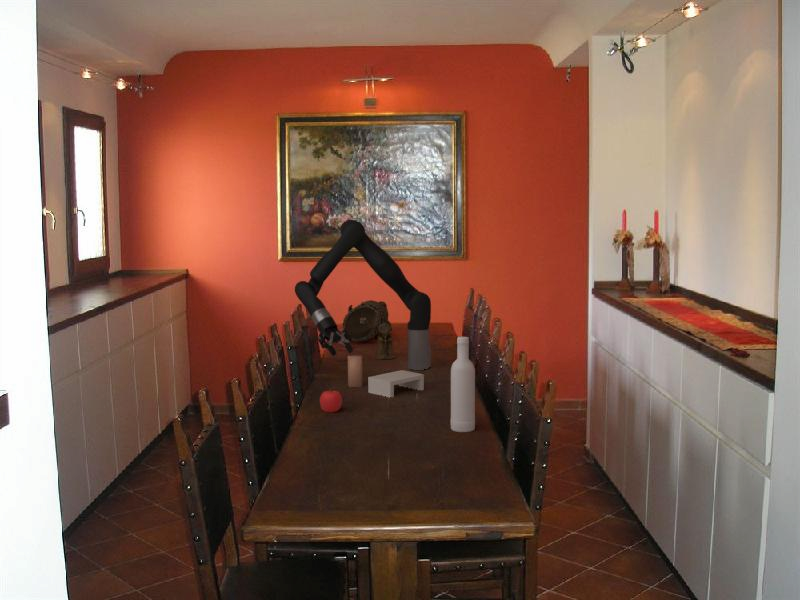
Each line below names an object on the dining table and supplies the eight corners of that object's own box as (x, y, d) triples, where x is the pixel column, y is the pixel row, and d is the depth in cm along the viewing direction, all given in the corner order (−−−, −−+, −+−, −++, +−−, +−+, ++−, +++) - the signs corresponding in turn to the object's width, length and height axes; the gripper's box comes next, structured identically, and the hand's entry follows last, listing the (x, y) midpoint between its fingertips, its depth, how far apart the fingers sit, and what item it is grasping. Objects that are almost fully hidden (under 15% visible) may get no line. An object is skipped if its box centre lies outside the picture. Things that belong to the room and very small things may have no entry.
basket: (344, 308, 478) (331, 307, 444) (382, 290, 476) (371, 287, 442) (363, 348, 476) (351, 349, 442) (401, 330, 474) (392, 329, 439)
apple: (333, 414, 307) (333, 392, 306) (315, 411, 311) (314, 389, 310) (346, 409, 314) (346, 387, 313) (328, 407, 318) (328, 385, 317)
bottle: (458, 433, 283) (458, 340, 279) (445, 427, 289) (445, 336, 286) (479, 430, 286) (480, 338, 282) (466, 424, 293) (467, 334, 289)
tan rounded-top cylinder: (355, 383, 355) (355, 354, 354) (365, 386, 351) (364, 356, 350) (345, 386, 351) (344, 356, 350) (354, 388, 347) (354, 358, 346)
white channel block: (401, 385, 352) (401, 370, 352) (423, 389, 344) (423, 374, 343) (368, 392, 340) (368, 377, 339) (390, 397, 331) (390, 381, 331)
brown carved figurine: (375, 361, 400) (374, 322, 398) (375, 356, 413) (375, 317, 411) (394, 361, 400) (394, 322, 398) (394, 356, 413) (394, 317, 411)
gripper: (314, 318, 354) (333, 350, 347) (341, 314, 364) (360, 345, 357) (306, 329, 358) (325, 361, 352) (333, 325, 368) (352, 356, 362)
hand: (343, 353), depth 354 cm, fingers open, 8 cm apart
